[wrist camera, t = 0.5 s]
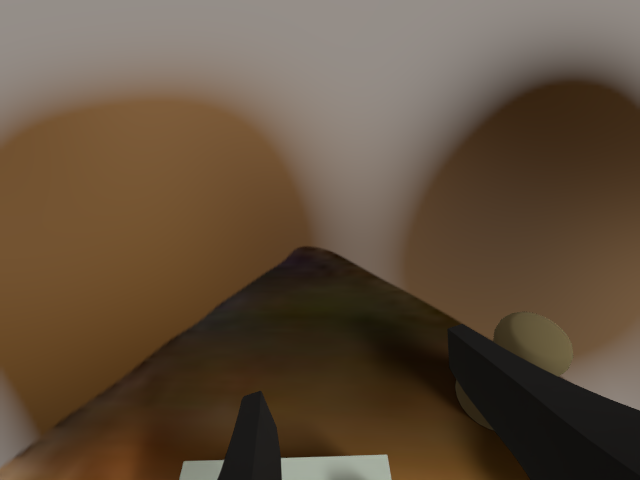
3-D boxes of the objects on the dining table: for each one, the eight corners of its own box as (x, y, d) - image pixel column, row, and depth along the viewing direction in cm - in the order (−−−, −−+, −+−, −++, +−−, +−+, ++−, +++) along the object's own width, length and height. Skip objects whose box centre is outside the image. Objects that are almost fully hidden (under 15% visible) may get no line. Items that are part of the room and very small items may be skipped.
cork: (455, 417, 29) (503, 354, 22) (454, 360, 33) (494, 292, 26) (526, 441, 28) (602, 382, 21) (516, 378, 32) (575, 311, 25)
